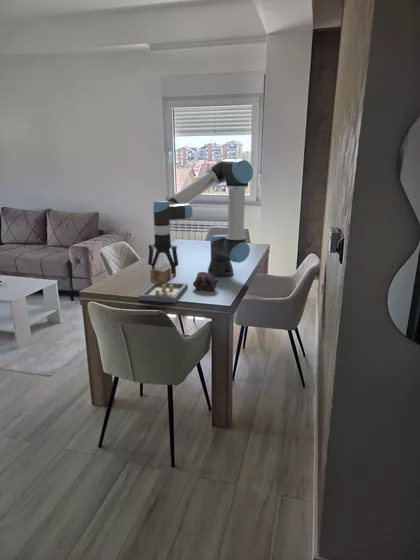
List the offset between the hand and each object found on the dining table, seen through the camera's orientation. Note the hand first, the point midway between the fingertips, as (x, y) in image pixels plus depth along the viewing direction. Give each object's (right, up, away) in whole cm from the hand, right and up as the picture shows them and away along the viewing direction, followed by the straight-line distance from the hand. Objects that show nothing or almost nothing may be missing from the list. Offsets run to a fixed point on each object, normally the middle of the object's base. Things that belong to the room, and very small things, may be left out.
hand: (163, 278), depth 189 cm
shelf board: (0, 0, 0) cm, 0 cm away
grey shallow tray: (0, -8, +3) cm, 8 cm away
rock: (+21, -5, +10) cm, 24 cm away
